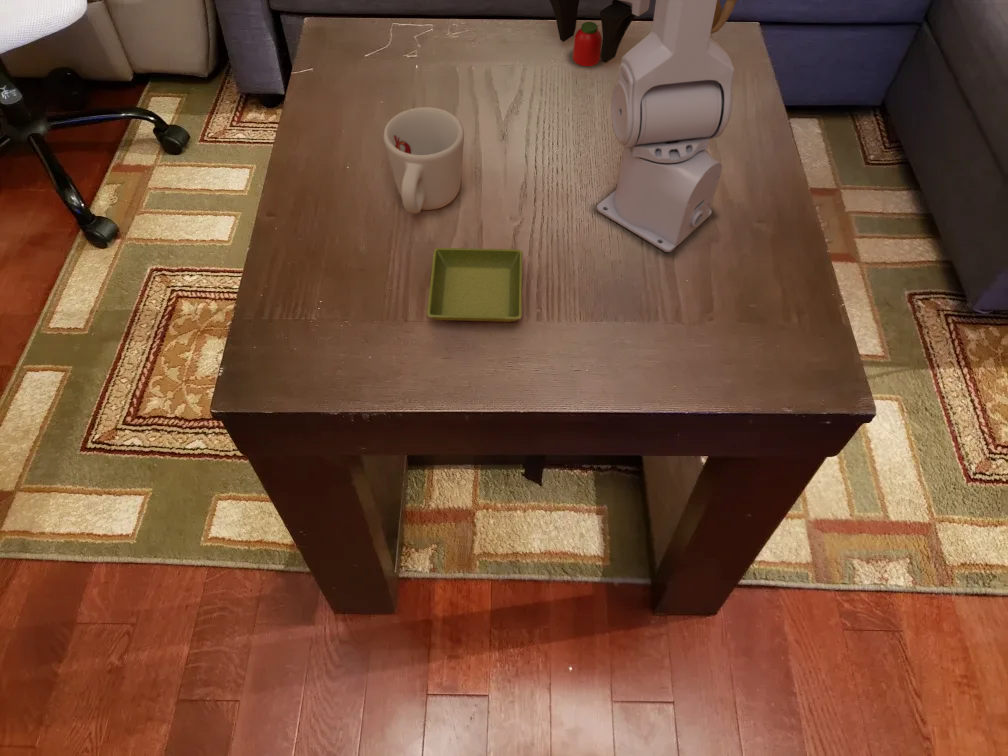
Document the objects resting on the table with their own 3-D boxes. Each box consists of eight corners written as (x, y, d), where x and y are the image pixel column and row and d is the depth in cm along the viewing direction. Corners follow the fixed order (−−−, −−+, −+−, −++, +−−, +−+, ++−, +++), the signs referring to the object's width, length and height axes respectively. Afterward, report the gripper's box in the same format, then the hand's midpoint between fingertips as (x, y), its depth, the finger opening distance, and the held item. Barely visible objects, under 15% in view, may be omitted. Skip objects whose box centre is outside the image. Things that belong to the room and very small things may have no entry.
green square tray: (521, 332, 69) (521, 318, 67) (427, 330, 69) (426, 316, 67) (522, 263, 74) (522, 249, 72) (435, 261, 74) (433, 247, 72)
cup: (450, 243, 75) (446, 182, 69) (375, 232, 76) (363, 170, 69) (474, 174, 81) (472, 111, 75) (404, 164, 82) (395, 101, 75)
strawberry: (605, 58, 94) (609, 25, 90) (588, 69, 92) (591, 37, 89) (584, 47, 95) (587, 15, 91) (567, 58, 94) (570, 26, 90)
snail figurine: (721, 89, 90) (748, -9, 80) (668, 89, 90) (689, -9, 80) (714, 63, 93) (740, -34, 83) (663, 63, 93) (683, -35, 83)
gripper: (674, -58, 80) (653, 57, 91) (571, -101, 86) (563, 13, 97) (636, -34, 77) (618, 82, 88) (531, -79, 83) (527, 35, 94)
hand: (587, 48), depth 92 cm, fingers open, 6 cm apart
